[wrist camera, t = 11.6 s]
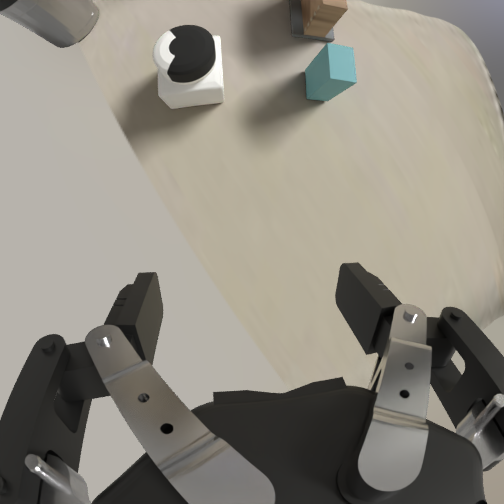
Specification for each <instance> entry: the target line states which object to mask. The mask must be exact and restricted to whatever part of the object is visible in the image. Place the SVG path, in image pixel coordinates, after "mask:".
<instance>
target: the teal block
mask: <svg viewBox="0 0 504 504" xmlns="http://www.w3.org/2000/svg"><path fill="white" fill-rule="evenodd" d="M305 76H306V98H307V99H311V100H321V101H329V100H330V99H332V98H333V97H335V96H336V95H338V94H340V93H341V92H343V91H344V90H346V89H347V88H349V87H351V86H352V85H354V84H355V83H357V80H356V69H355V60H354V51H353V48H351V47H347V46H342V45H336V44H331V43H327V44H326V45H325V46H324V48H323V49H322V50H321V51H320V52H319V54H318V55H317V56H316V57H315V58H314V60H313V61H312V62H311V63H310V65H309V66H308V67H307V68H306V70H305Z"/></svg>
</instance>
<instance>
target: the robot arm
mask: <svg viewBox="0 0 504 504" xmlns="http://www.w3.org/2000/svg"><path fill="white" fill-rule="evenodd" d="M0 14H1V15H3V16H5V17H7V18H9V19H11V20H13V21H15V22H16V23H18V24H20V25H22V26H23V27H25V28H27V29H29V30H30V31H32V32H34V33H36V34H37V35H39V36H41V37H43V38H44V39H45V40H47V41H49V42H50V43H52V44H54V45H55V46H57V47H60V48H64V47H69V46H71V45H73V44H75V43H77V42H79V41H80V40H81V39H83V38H84V37H85V36H86V35H87V34H88V33H89V32H90V31H91V29H92V28H93V27H94V25H95V24H96V22H97V19H98V16H99V10H98V7H97V6H96V5H95V4H94V3H93V2H92V0H0ZM335 298H336V304H337V307H338V308H339V310H340V312H341V313H342V315H343V316H344V318H345V320H346V321H347V323H348V325H349V326H350V328H351V330H352V331H353V333H354V335H355V336H356V338H357V340H358V341H359V343H360V345H361V346H362V348H363V350H364V351H365V353H366V355H367V354H372V353H376V352H377V353H378V357H377V360H376V362H375V366H374V369H373V373H372V376H371V379H370V383H369V386H368V389H365V388H361V387H356V386H346V384H345V382H344V379H343V377H340V378H335V379H329V380H324V381H318V382H313V383H310V384H308V385H305V386H302V387H300V388H297V389H294V390H291V391H289V392H286V393H268V392H258V391H249V390H243V391H227V392H213V397H214V401H213V402H209V403H206V404H204V405H200V406H198V407H196V408H194V409H193V410H191V411H190V410H189V409H188V408H187V406H186V405H185V404H184V403H183V402H182V401H181V400H180V399H179V398H178V396H176V394H175V393H174V392H173V391H172V389H171V388H170V387H169V386H168V385H167V384H166V382H165V381H164V380H163V379H162V378H161V376H160V375H159V374H158V373H157V372H156V370H155V369H154V368H153V366H152V364H153V359H154V354H155V349H156V345H157V340H158V336H159V331H160V327H161V323H162V318H163V303H162V298H161V292H160V287H159V281H158V276H157V273H156V272H147V273H138V275H137V277H136V280H135V281H134V284H129V285H127V286H126V287H124V288H123V289H122V290H121V291H120V292H119V294H118V296H117V300H115V302H114V304H113V306H112V308H111V311H110V313H109V315H108V317H107V319H106V321H105V323H104V325H102V326H99V327H96V328H94V329H93V330H91V331H90V332H89V333H88V335H87V336H86V338H85V342H80V343H75V344H69V345H66V343H65V341H64V339H63V337H61V336H60V335H57V334H52V335H47V336H45V337H43V338H41V339H39V341H37V342H36V344H35V345H34V347H33V349H32V351H31V353H30V354H29V356H28V358H27V360H26V362H25V365H24V366H23V368H22V370H21V372H20V375H19V377H18V379H17V381H16V383H15V385H14V388H13V390H12V392H11V395H10V397H9V399H8V402H7V404H6V407H5V409H4V412H3V415H2V417H1V420H0V504H91V502H90V501H89V497H88V490H87V485H86V482H85V481H84V479H83V478H82V477H81V476H80V475H79V474H78V468H79V462H80V455H81V449H82V443H83V438H84V433H85V428H86V423H87V418H88V414H89V410H90V405H91V401H92V399H94V398H99V397H105V396H111V397H112V399H113V401H114V402H115V404H116V405H117V407H118V409H119V411H120V413H121V414H122V416H123V417H124V419H125V421H126V422H127V424H128V425H129V427H130V429H131V430H132V432H133V433H134V435H135V436H136V438H137V439H138V440H139V442H140V443H141V445H142V446H143V448H144V449H145V451H146V453H145V454H143V455H142V456H141V457H140V458H139V459H138V460H137V461H136V462H135V463H134V464H133V465H132V466H131V467H130V468H129V469H127V471H125V472H124V473H123V474H122V475H121V476H120V477H119V478H118V479H117V480H115V481H114V482H113V483H112V484H111V485H110V486H109V487H107V488H106V489H105V490H104V491H103V492H102V493H101V494H100V495H98V496H97V497H96V498H95V499H94V501H93V502H92V504H487V502H486V500H485V495H484V488H483V471H488V470H490V469H491V468H492V467H494V466H495V465H496V464H498V463H499V462H500V461H501V460H503V459H504V357H503V355H502V354H501V353H500V352H499V351H498V349H497V348H496V347H495V346H494V345H493V344H492V342H491V341H490V340H489V339H488V338H487V336H486V335H485V334H484V333H483V332H482V331H481V330H480V329H479V327H478V326H477V325H476V324H475V323H474V322H473V321H472V320H471V319H470V318H469V317H468V315H467V314H466V313H465V312H463V311H462V310H460V309H458V308H455V307H446V308H444V309H443V310H442V312H441V315H440V317H439V318H436V317H426V314H425V313H424V312H423V311H422V310H421V309H420V308H418V307H416V306H414V305H410V304H402V303H401V302H400V301H399V300H398V299H397V298H396V297H395V295H394V294H393V293H392V292H391V291H390V290H388V288H387V287H386V286H385V285H383V283H382V281H381V280H380V279H379V278H378V277H376V276H374V275H373V274H371V273H369V272H367V271H366V270H365V269H364V268H363V267H362V266H361V265H360V264H359V263H343V264H342V265H341V267H340V271H339V277H338V283H337V289H336V295H335ZM455 350H457V351H458V353H459V354H460V355H461V357H462V358H463V360H464V361H465V371H464V373H463V375H461V373H460V372H459V371H458V369H457V368H456V366H455V365H454V363H453V362H452V360H451V358H452V356H453V354H454V352H455ZM430 384H431V385H432V387H433V389H434V391H435V392H436V394H437V396H438V397H439V399H440V401H441V403H442V405H443V406H444V408H445V410H446V411H447V414H448V415H449V417H450V419H451V421H452V423H453V424H454V426H455V428H456V433H454V432H452V431H450V430H448V429H446V428H444V427H442V426H440V425H437V424H435V423H433V422H431V421H429V420H427V419H426V415H427V407H428V398H429V389H430Z"/></svg>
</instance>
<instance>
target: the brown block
mask: <svg viewBox="0 0 504 504" xmlns="http://www.w3.org/2000/svg"><path fill="white" fill-rule="evenodd" d="M289 4H290V16H291V29H292V36H294V37H303V38H311V39H318V40H324V41H330V42H332V41H333V40H334V32H333V26H334V25H335V24H336V23H337V21H338V20H339V19H340V18H341V17H342V15H343V14H344V13H345V12H346V11H347V9H348V8H347V2H346V0H289Z"/></svg>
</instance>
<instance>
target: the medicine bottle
mask: <svg viewBox="0 0 504 504" xmlns="http://www.w3.org/2000/svg"><path fill="white" fill-rule="evenodd" d="M153 60H154V63H155V65H156V66H157V67H158V96H159V97H160V98H161V99H162V100H163V101H164V102H165V103H166V104H167V105H168V106H169V107H170V108H171V109H176V108H183V107H190V106H198V105H206V104H216V103H223V102H224V86H223V71H222V56H221V39H220V36H212V35H211V34H210V33H209V32H208V31H207V30H206V29H204V28H202V27H199V26H195V25H183V26H178V27H175V28H173V29H171V30H169V31H167V32H166V33H164V34H163V35H162V36H161V37H160V38H159V39H158V41H157V42H156V44H155V46H154V49H153Z"/></svg>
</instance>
